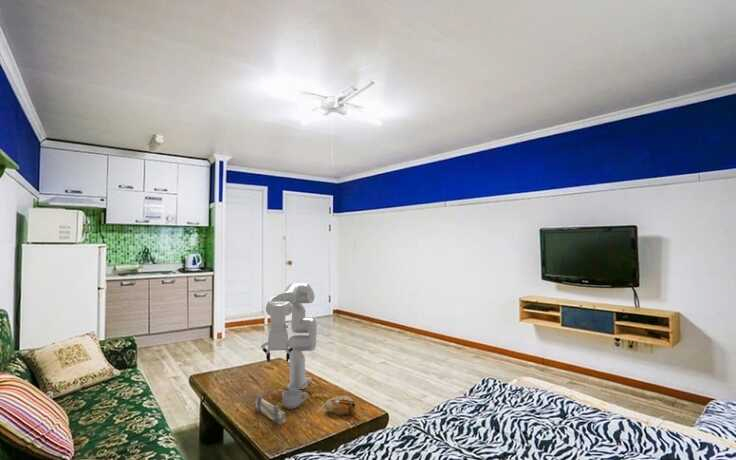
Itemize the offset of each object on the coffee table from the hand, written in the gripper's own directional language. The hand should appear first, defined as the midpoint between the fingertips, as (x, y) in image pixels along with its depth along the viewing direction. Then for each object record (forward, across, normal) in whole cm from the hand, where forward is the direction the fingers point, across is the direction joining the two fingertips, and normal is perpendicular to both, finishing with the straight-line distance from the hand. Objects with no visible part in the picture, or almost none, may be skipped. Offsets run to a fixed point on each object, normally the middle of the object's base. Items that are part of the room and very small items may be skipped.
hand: (278, 361), depth 193 cm
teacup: (+29, -7, -11) cm, 32 cm away
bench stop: (+28, +5, -1) cm, 29 cm away
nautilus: (+29, -34, 0) cm, 44 cm away
